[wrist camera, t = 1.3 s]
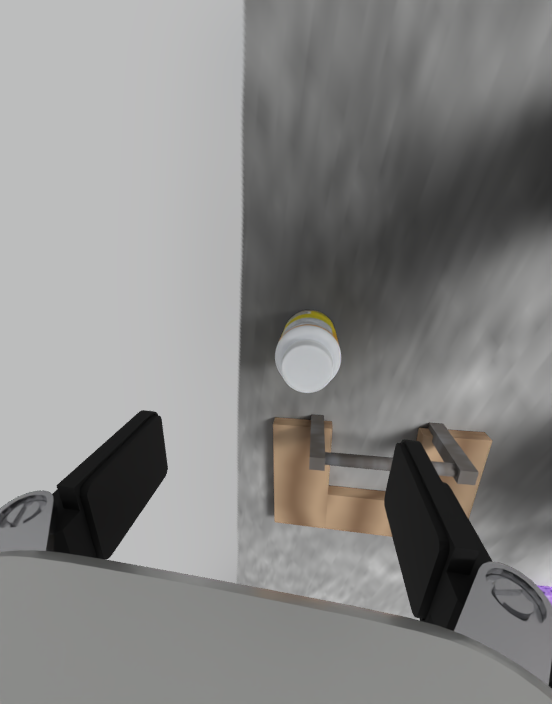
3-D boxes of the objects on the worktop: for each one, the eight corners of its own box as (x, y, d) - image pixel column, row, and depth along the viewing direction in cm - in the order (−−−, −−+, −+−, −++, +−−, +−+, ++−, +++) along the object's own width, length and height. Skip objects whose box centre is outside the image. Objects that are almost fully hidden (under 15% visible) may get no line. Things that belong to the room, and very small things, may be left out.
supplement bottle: (320, 365, 31) (322, 414, 22) (276, 344, 31) (258, 384, 22) (345, 322, 29) (358, 355, 20) (298, 299, 29) (288, 322, 20)
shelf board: (486, 426, 31) (535, 477, 24) (455, 534, 37) (487, 600, 30) (274, 412, 34) (263, 453, 27) (276, 512, 40) (267, 567, 33)
